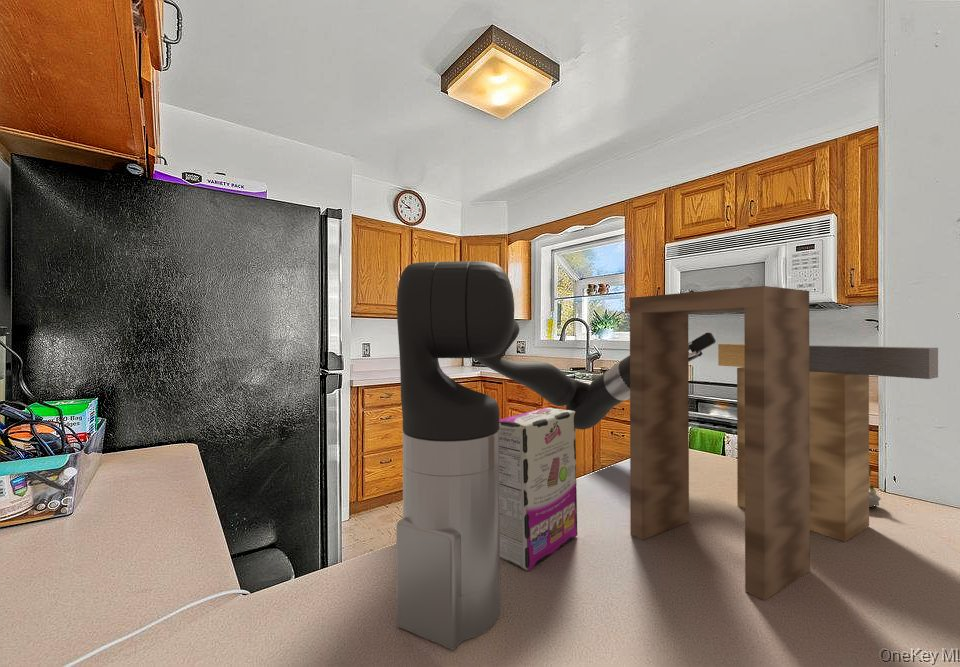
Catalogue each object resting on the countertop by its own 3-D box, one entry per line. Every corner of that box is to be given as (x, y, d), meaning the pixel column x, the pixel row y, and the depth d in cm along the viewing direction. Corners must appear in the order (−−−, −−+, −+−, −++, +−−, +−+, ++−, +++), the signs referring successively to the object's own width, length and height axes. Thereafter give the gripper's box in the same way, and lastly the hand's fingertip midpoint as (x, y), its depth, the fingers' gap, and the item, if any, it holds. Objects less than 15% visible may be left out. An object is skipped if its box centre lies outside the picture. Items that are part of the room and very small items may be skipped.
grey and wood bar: (938, 377, 50) (938, 347, 50) (929, 379, 48) (929, 348, 48) (730, 364, 70) (730, 343, 70) (718, 365, 68) (718, 343, 68)
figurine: (859, 511, 61) (863, 470, 62) (830, 500, 66) (834, 462, 66) (890, 515, 62) (894, 474, 62) (859, 504, 66) (863, 466, 67)
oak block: (869, 526, 57) (868, 371, 57) (845, 542, 53) (844, 375, 53) (763, 495, 68) (763, 365, 68) (737, 505, 64) (737, 367, 64)
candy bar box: (546, 525, 58) (545, 406, 58) (578, 536, 54) (578, 410, 54) (493, 557, 50) (492, 418, 50) (527, 573, 46) (526, 424, 46)
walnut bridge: (764, 600, 41) (763, 285, 41) (630, 534, 55) (629, 297, 55) (809, 570, 47) (809, 290, 46) (677, 516, 60) (676, 300, 60)
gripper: (600, 361, 83) (663, 318, 71) (646, 358, 91) (711, 319, 79) (615, 396, 80) (684, 357, 68) (662, 390, 87) (731, 354, 75)
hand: (698, 337), depth 73 cm, fingers open, 8 cm apart
